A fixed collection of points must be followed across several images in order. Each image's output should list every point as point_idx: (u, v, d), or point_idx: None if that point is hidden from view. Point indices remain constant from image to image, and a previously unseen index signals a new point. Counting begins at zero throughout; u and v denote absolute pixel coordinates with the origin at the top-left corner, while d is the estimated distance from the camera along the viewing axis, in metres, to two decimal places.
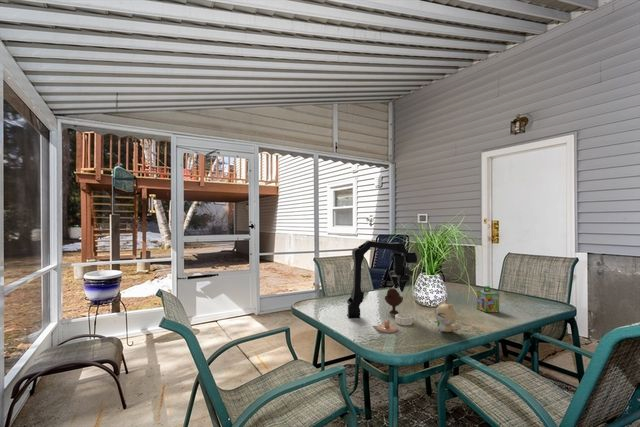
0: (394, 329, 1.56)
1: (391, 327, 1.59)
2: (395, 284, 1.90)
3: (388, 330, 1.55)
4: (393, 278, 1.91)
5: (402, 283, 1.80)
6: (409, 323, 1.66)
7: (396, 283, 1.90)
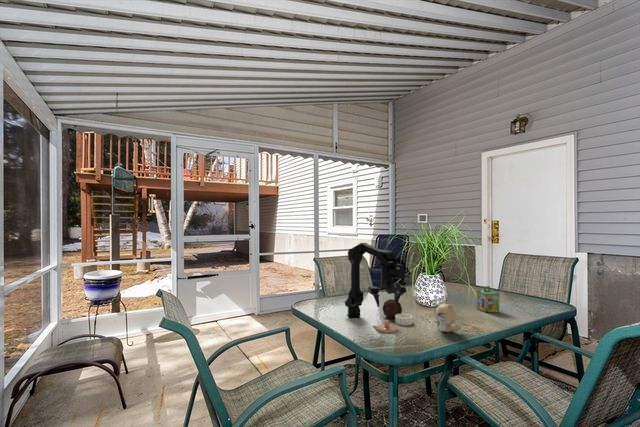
0: (394, 329, 1.56)
1: (391, 327, 1.59)
2: (395, 301, 1.60)
3: (388, 330, 1.55)
4: (395, 293, 1.62)
5: (376, 297, 1.59)
6: (409, 323, 1.66)
7: (395, 300, 1.60)
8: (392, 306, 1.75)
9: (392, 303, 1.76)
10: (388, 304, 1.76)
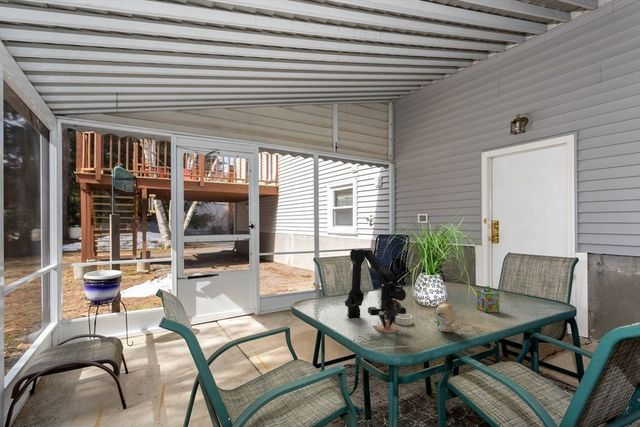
0: (394, 329, 1.56)
1: (391, 327, 1.59)
2: None
3: (388, 330, 1.55)
4: None
5: (381, 317, 1.59)
6: (409, 323, 1.66)
7: None
8: None
9: None
10: None
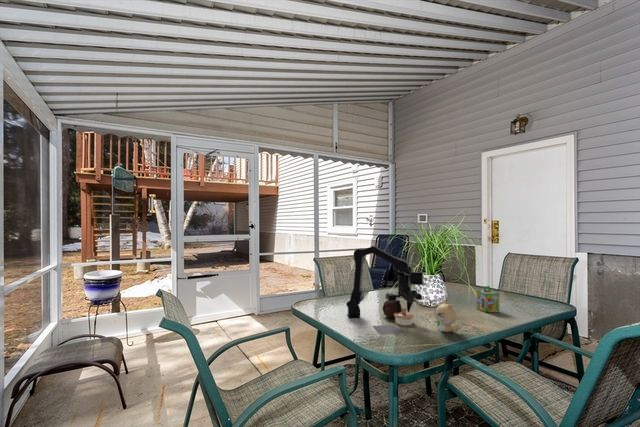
0: (411, 315, 1.67)
1: (407, 314, 1.70)
2: (407, 307, 1.71)
3: (405, 316, 1.66)
4: (407, 300, 1.72)
5: (396, 303, 1.70)
6: (409, 323, 1.66)
7: (408, 306, 1.70)
8: (392, 306, 1.75)
9: (392, 303, 1.76)
10: (388, 304, 1.76)
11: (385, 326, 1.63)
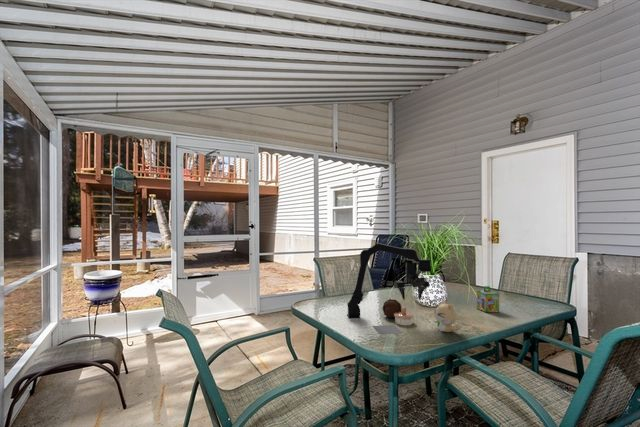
0: (411, 315, 1.67)
1: (407, 314, 1.70)
2: (418, 294, 1.75)
3: (405, 316, 1.66)
4: (418, 287, 1.76)
5: None
6: (409, 323, 1.66)
7: (419, 293, 1.75)
8: (392, 306, 1.75)
9: (392, 303, 1.76)
10: (388, 304, 1.76)
11: (385, 326, 1.63)
